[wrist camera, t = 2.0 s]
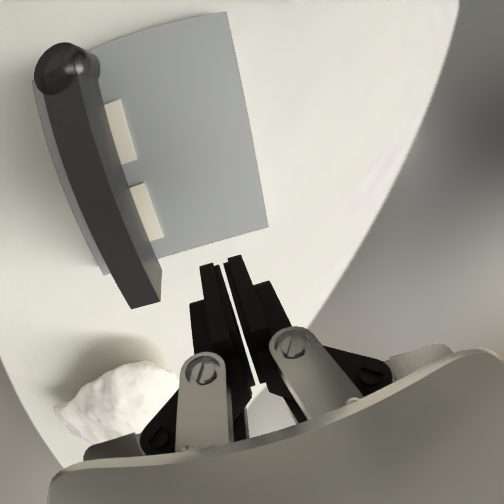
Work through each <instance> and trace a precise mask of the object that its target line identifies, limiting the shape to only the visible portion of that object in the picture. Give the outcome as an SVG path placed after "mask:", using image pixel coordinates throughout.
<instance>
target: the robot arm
mask: <svg viewBox="0 0 504 504" xmlns="http://www.w3.org/2000/svg"><path fill="white" fill-rule="evenodd" d="M223 264H224V268H225V272H226V275H227V279H228V282H229V286H230V289H231V293H232V296H233V300H234V303H235V307H236V310H237V314H238V317H239V320H240V324H241V327H242V330H243V334H244V337H245V340H246V343H247V346H248V349H249V352H250V355H251V358H252V361H253V364H254V367H255V370H256V373H257V376H258V379H259V382H260V384H262V383H265V382H266V385H267V387H268V390H269V392H271V393H273V394H276V395H278V396H281V399H282V401H283V402H284V404H285V406H286V408H287V409H288V411H289V413H290V414H291V416H292V418H293V419H294V421H295V422H296V425H294V426H290V427H287V428H285V429H281V430H278V431H275V432H271V433H268V434H264V435H260V436H257V437H253V438H249V428H248V417H247V409H246V405H247V404H248V402H249V401H250V399H251V398H252V396H251V395H252V391H251V388H250V387H251V386H255V382H254V378H253V375H252V372H251V368H250V365H249V362H248V358H247V355H246V352H245V348H244V345H243V341H242V338H241V334H240V331H239V327H238V324H237V320H236V317H235V314H234V311H233V308H232V304H231V301H230V298H229V295H228V292H227V289H226V286H225V282H224V279H223V276H222V273H221V269H220V266H219V265H216V266H214V265H213V263H210V264H206V265H203V266H200V275H201V282H202V289H203V295H204V300H200V301H197V302H193V303H190V304H189V308H190V319H191V329H192V338H193V347H194V355H193V356H191V357H190V358H189V359H188V360H186V361H185V363H184V364H183V366H182V368H181V372H180V381H179V389H178V390H177V391H176V392H175V393H174V394H173V396H172V397H171V398H170V399H169V400H168V401H167V403H166V404H165V405H164V406H163V407H162V408H161V409H160V411H159V412H158V413H157V414H156V415H155V416H154V417H153V419H152V420H151V421H150V422H149V423H148V424H147V425H146V426H145V428H144V429H143V431H142V432H141V433H139V434H136V433H135V432H133V433H130V434H127V435H124V436H121V437H118V438H115V439H112V440H108V441H105V442H102V443H98V444H94V445H92V446H90V447H89V448H88V449H87V450H86V451H85V454H84V456H83V462H79V463H76V464H73V465H71V466H69V467H66V468H64V469H63V470H61V471H59V472H58V473H57V474H56V475H55V476H54V477H53V478H52V480H51V482H50V485H49V489H48V495H47V504H504V359H503V358H501V356H499V355H498V354H496V353H495V352H493V351H491V350H489V349H485V348H473V349H466V350H461V351H457V352H454V353H453V352H452V351H451V349H450V348H449V347H447V346H445V345H443V344H433V345H430V346H426V347H423V348H420V349H417V350H414V351H410V352H407V353H403V354H399V355H395V356H392V357H389V359H388V360H386V361H380V360H377V359H374V358H370V357H366V356H361V355H358V354H354V353H350V352H346V351H342V350H338V349H334V348H330V347H327V346H323V345H322V344H321V343H320V342H319V341H318V339H317V338H316V337H315V336H314V334H313V333H311V332H310V331H309V330H308V329H305V328H303V327H297V326H294V327H292V325H291V323H290V321H289V319H288V317H287V315H286V313H285V311H284V309H283V307H282V305H281V303H280V301H279V299H278V297H277V295H276V293H275V291H274V289H273V287H272V284H271V283H270V281H266V282H262V283H259V284H256V285H253V284H252V281H251V279H250V276H249V274H248V271H247V269H246V266H245V264H244V261H243V259H242V256H241V255H237V256H234V257H230V258H228V262H226V263H223Z"/></svg>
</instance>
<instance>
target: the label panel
mask: <svg viewBox="0 0 504 504" xmlns="http://www.w3.org/2000/svg"><path fill="white" fill-rule="evenodd" d="M89 52H91V53H93V54H95V55H96V56H97V57H98V59H99V61H100V74H99V77H98V82H99V87H100V91H101V95H102V99H103V103H104V107H105V111H106V114H107V118H108V122H109V125H110V129H111V132H112V136H113V139H114V142H115V146H116V149H117V152H118V155H119V159H120V162H121V165H122V168H123V171H124V174H125V177H126V180H127V183H128V185H129V188H130V191H131V194H132V197H133V199H134V202H135V205H136V208H137V210H138V213H139V216H140V218H141V221H142V223H143V226H144V228H145V231H146V233H147V236H148V238H149V241H150V243H151V246H152V248H153V250H154V253H155V255H156V258H157V259H159V258H162V257H165V256H169V255H172V254H176V253H179V252H182V251H186V250H189V249H193V248H196V247H200V246H203V245H207V244H210V243H214V242H217V241H221V240H224V239H228V238H231V237H235V236H238V235H242V234H245V233H249V232H253V231H256V230H260V229H263V228H267V227H268V222H267V216H266V210H265V204H264V199H263V193H262V187H261V182H260V176H259V171H258V165H257V160H256V155H255V149H254V144H253V139H252V133H251V128H250V123H249V118H248V113H247V107H246V102H245V97H244V92H243V87H242V82H241V78H240V73H239V68H238V63H237V58H236V53H235V49H234V44H233V39H232V35H231V30H230V25H229V21H228V16H227V12H221V13H214V14H208V15H202V16H197V17H192V18H187V19H183V20H178V21H174V22H170V23H166V24H162V25H159V26H155V27H152V28H148V29H145V30H142V31H139V32H136V33H133V34H130V35H127V36H124V37H121V38H119V39H116V40H113V41H111V42H108V43H106V44H103V45H101V46H99V47H96V48H94V49H92V50H89ZM32 84H33V89H34V94H35V98H36V103H37V107H38V111H39V115H40V119H41V123H42V127H43V130H44V134H45V137H46V141H47V144H48V147H49V150H50V153H51V156H52V159H53V162H54V165H55V168H56V171H57V174H58V176H59V179H60V182H61V184H62V187H63V190H64V192H65V195H66V197H67V200H68V202H69V204H70V207H71V209H72V212H73V214H74V216H75V218H76V221H77V223H78V225H79V227H80V229H81V232H82V234H83V236H84V238H85V240H86V242H87V244H88V246H89V248H90V250H91V252H92V254H93V256H94V258H95V260H96V262H97V264H98V266H99V268H100V269H101V271H102V273H103V275H106V274H109V273H110V271H109V269H108V267H107V265H106V263H105V261H104V259H103V257H102V255H101V253H100V251H99V249H98V247H97V245H96V243H95V241H94V239H93V237H92V235H91V233H90V230H89V228H88V226H87V224H86V222H85V219H84V217H83V215H82V212H81V210H80V208H79V205H78V203H77V200H76V198H75V195H74V193H73V190H72V188H71V185H70V183H69V180H68V177H67V174H66V172H65V169H64V166H63V163H62V160H61V157H60V154H59V151H58V148H57V145H56V141H55V138H54V135H53V131H52V128H51V124H50V121H49V117H48V113H47V109H46V105H45V100H44V96H43V93H42V92H40V91H39V90H38V88H37V87H36V85H35V81H34V80H33V81H32Z"/></svg>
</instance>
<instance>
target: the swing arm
mask: <svg viewBox="0 0 504 504" xmlns="http://www.w3.org/2000/svg"><path fill="white" fill-rule="evenodd" d="M99 74H100V61H99V59H98V57H97V56H96V55H95V54H93V53H91V52H89V51H87V50H85V49H82V48H80V47H78V46H76V45H73V44H71V43H66V42H64V43H58V44H56V45H54V46H52V47H50V48H49V49H48V50H46V51H45V52H44V54H43V55H42V56H41V57H40V59H39V61H38V63H37V65H36V68H35V72H34V81H35V85H36V87H37V88H38V90H39V91H40V92H42V93H43V96H44V100H45V105H46V109H47V113H48V117H49V121H50V124H51V128H52V131H53V135H54V138H55V141H56V145H57V148H58V151H59V154H60V157H61V160H62V163H63V166H64V169H65V172H66V174H67V177H68V180H69V183H70V185H71V188H72V190H73V193H74V195H75V198H76V200H77V203H78V205H79V208H80V210H81V212H82V215H83V217H84V219H85V222H86V224H87V226H88V228H89V230H90V233H91V235H92V237H93V239H94V241H95V243H96V245H97V247H98V249H99V251H100V253H101V255H102V257H103V259H104V261H105V263H106V265H107V267H108V269H109V271H110V273H111V275H112V276H113V278H114V280H115V282H116V284H117V286H118V287H119V289H120V291H121V293H122V294H123V296H124V298H125V300H126V301H127V303H128V305H129V306H130V308H131V309H134V308H138V307H142V306H145V305H149V304H153V303H157V302H160V300H161V277H162V269H161V267H160V264H159V262H158V260H157V258H156V255H155V253H154V250H153V248H152V246H151V243H150V241H149V238H148V236H147V233H146V231H145V228H144V226H143V223H142V221H141V218H140V216H139V213H138V210H137V208H136V205H135V202H134V199H133V197H132V194H131V191H130V188H129V185H128V183H127V180H126V177H125V174H124V171H123V168H122V165H121V162H120V159H119V155H118V152H117V149H116V146H115V142H114V139H113V136H112V132H111V129H110V125H109V122H108V118H107V114H106V111H105V107H104V103H103V99H102V95H101V91H100V87H99V82H98V77H99Z"/></svg>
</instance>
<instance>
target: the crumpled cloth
mask: <svg viewBox="0 0 504 504" xmlns="http://www.w3.org/2000/svg"><path fill="white" fill-rule="evenodd" d="M178 389H179V379H178V378H177V376H176V375H175V373H174V372H173V371H170V370H166V369H163V368H160V367H158V366H157V365H155V364H153V363H152V362H150V361H140V362H135V363H128V364H124V365H121V366H119V367H117V368H115V369H114V370H111V371H108V372H106V373H104V374H103V375H102V376H101V377H99V378H98V379H96V380H94V381H92V382H90V383H87V384H86V385H84V386H83V387H82V388H81V389H80V390H79V391H78V393H77V394H76V396H75V397H74V398H73V399H72V400H70V401H68V402H65V403H63V404H61V405H58V406H55V407H54V412H55V414H56V416H57V418H58V419H59V420H60V421H61V422H63V423H64V424H65V425H66V426H67V428H68V429H69V430H70V432H71V433H73V434H74V435H76V436H78V437H80V438H82V439H84V440H85V441H87V442H89V443H91V444H93V445H94V444H98V443H102V442H105V441H108V440H112V439H115V438H118V437H121V436H124V435H127V434H130V433H133V432H135V433H136V434H139V433H141V432H142V431H143V429H144V428H145V426H146V425H147V424H148V423H149V422H150V421H151V420H152V419H153V417H154V416H155V415H156V414H157V413H158V412H159V411H160V409H161V408H162V407H163V406H164V405H165V404H166V403H167V401H168V400H169V399H170V398H171V397H172V396H173V394H174V393H175V392H176V391H177V390H178Z"/></svg>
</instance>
